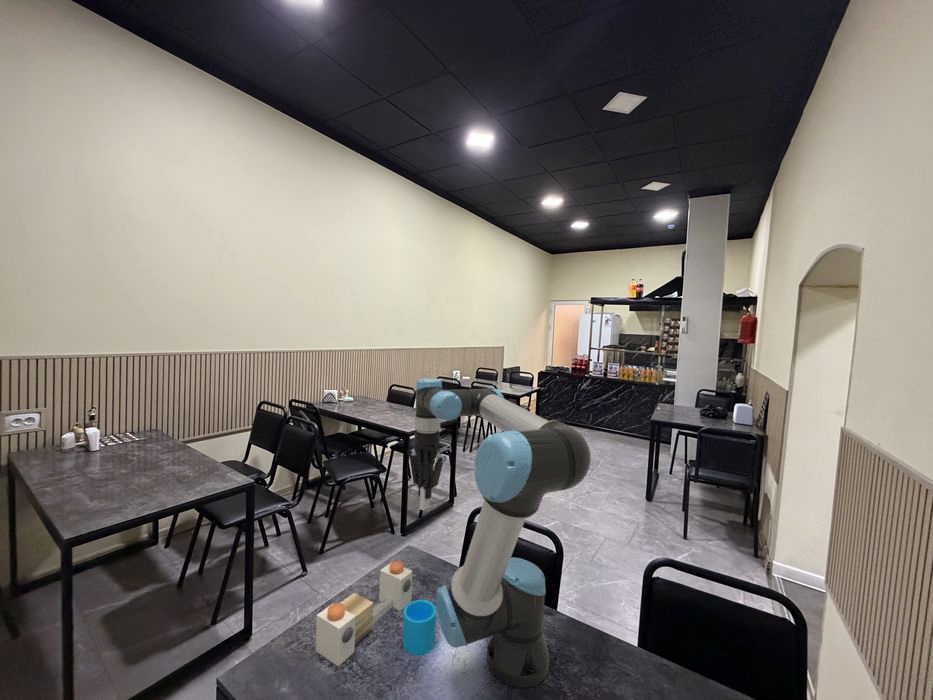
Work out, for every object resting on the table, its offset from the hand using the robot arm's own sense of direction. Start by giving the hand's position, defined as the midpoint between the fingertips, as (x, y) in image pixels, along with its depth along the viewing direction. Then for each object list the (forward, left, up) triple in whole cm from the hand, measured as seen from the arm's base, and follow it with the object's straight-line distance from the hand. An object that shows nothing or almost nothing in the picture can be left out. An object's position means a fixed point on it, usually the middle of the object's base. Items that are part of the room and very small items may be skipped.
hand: (424, 508), depth 115 cm
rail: (+5, +18, -26) cm, 32 cm away
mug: (-10, +13, -27) cm, 31 cm away
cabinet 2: (+5, +7, -26) cm, 28 cm away
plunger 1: (+4, +28, -21) cm, 36 cm away
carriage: (+5, +22, -26) cm, 35 cm away
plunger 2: (+5, +7, -21) cm, 22 cm away
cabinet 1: (+5, +29, -26) cm, 39 cm away
